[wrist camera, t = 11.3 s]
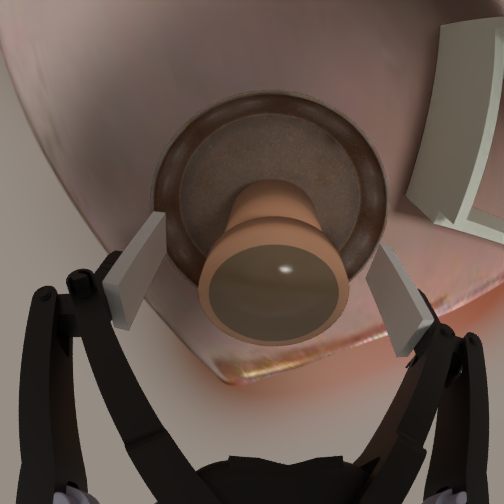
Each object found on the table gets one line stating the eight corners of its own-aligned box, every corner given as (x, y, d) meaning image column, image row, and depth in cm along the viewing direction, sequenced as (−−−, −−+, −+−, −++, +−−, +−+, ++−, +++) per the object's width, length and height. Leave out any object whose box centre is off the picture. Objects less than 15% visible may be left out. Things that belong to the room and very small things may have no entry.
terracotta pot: (229, 164, 17) (201, 220, 11) (334, 183, 17) (372, 250, 11) (218, 253, 21) (196, 336, 14) (308, 267, 21) (321, 352, 15)
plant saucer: (344, 64, 16) (358, 60, 13) (387, 258, 24) (399, 278, 22) (128, 146, 20) (110, 156, 17) (217, 306, 28) (213, 328, 26)
